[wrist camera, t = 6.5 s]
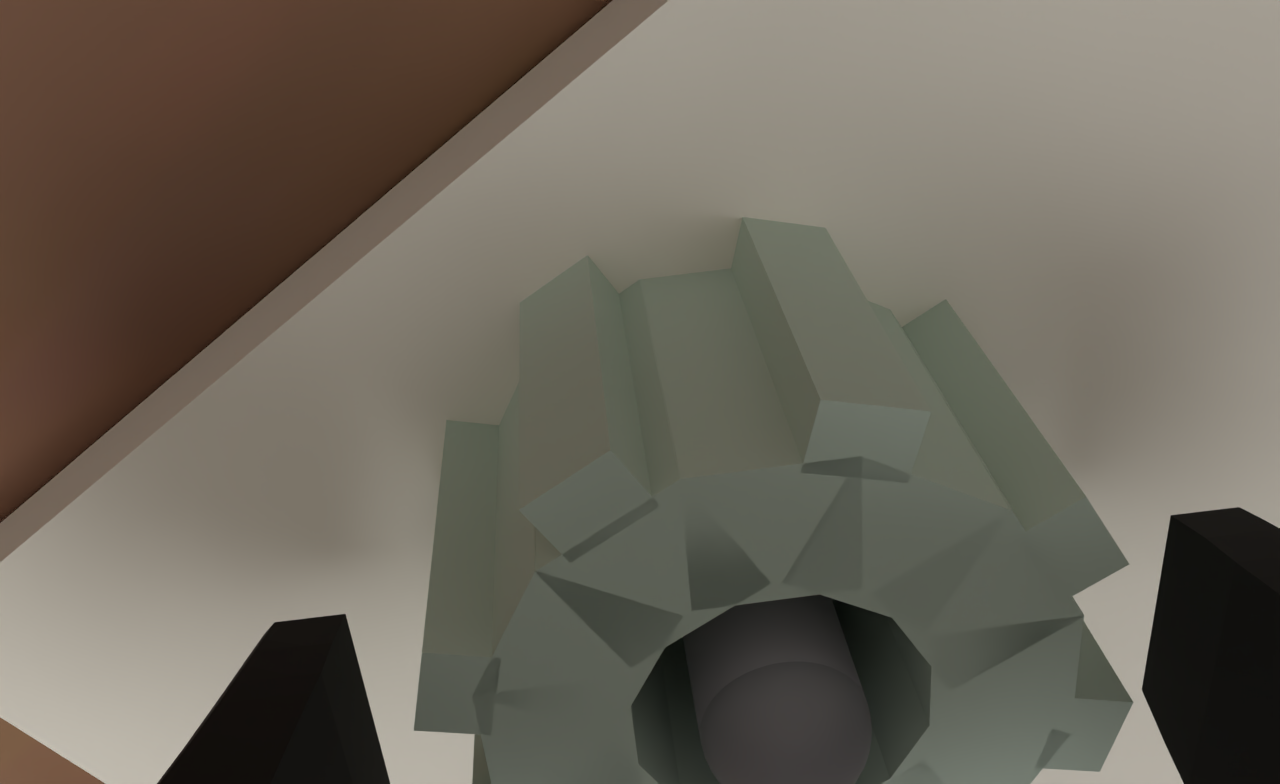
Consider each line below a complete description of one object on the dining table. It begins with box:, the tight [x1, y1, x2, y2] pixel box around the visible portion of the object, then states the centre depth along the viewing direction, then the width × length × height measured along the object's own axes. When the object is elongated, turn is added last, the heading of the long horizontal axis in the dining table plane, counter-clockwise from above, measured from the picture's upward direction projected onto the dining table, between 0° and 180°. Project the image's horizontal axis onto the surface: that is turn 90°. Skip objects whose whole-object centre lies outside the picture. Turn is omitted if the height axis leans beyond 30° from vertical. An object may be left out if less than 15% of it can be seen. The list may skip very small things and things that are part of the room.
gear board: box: [0, 0, 1280, 784], centre depth 13 cm, size 14×17×6 cm
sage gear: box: [414, 217, 1133, 784], centre depth 11 cm, size 6×6×3 cm
